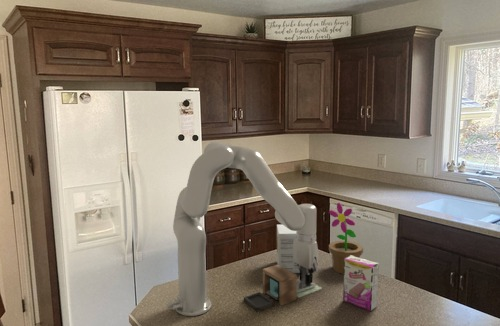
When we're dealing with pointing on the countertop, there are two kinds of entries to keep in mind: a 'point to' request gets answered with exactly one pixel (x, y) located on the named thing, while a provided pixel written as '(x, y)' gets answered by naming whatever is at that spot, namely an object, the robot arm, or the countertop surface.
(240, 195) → the countertop surface
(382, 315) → the countertop surface
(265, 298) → the tray
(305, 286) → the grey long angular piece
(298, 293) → the board
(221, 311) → the countertop surface
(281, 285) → the tunnel
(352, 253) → the flowerpot
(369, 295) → the candy bar box
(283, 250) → the supplement box
